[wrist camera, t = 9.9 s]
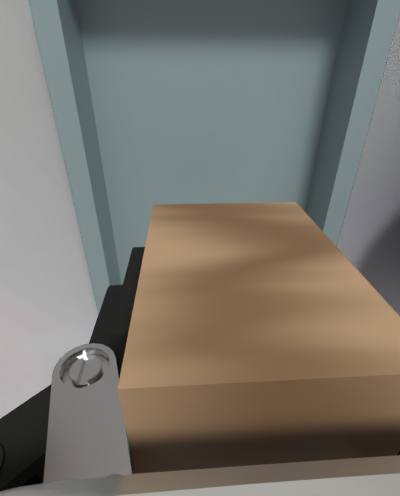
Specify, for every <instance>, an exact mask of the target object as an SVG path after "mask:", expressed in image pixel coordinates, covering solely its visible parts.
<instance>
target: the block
mask: <svg viewBox="0 0 400 496" xmlns="http://www.w3.org/2000/svg"><path fill="white" fill-rule="evenodd" d="M118 394H119V398H120V403H121V408H122V412H123V417H124V422H125V427H126V431H127V436H128V441H129V445H130V450H131V455H132V460H133V464H134V469H135V474H140V473H154V472H167V471H181V470H194V469H208V468H221V467H235V466H249V465H263V464H278V463H292V462H307V461H321V460H336V459H351V458H366V457H380V456H396V455H397V454H398V452H399V451H400V316H399V315H398V314H397V313H396V312H395V310H394V309H393V308H392V307H391V306H390V305H389V304H388V303H387V302H386V301H385V299H384V298H383V297H382V296H381V295H380V294H379V293H378V292H377V291H376V290H375V288H374V287H373V286H372V285H371V284H370V283H369V282H368V281H367V280H366V279H365V277H364V276H363V275H362V274H361V273H360V272H359V271H358V270H357V269H356V268H355V266H354V265H353V264H352V263H351V262H350V261H349V260H348V259H347V258H346V257H345V255H344V254H343V253H342V252H341V251H340V250H339V249H338V248H337V247H336V246H335V244H334V243H333V242H332V241H331V240H330V239H329V238H328V237H327V236H326V235H325V233H324V232H323V231H322V230H321V229H320V228H319V227H318V226H317V225H316V224H315V222H314V221H313V220H312V219H311V218H310V217H309V216H308V215H307V214H306V213H305V211H304V210H303V209H302V208H301V207H300V206H299V205H298V204H297V203H296V202H265V203H212V204H160V205H153V209H152V214H151V219H150V224H149V229H148V234H147V240H146V245H145V250H144V255H143V260H142V265H141V270H140V276H139V281H138V286H137V291H136V296H135V301H134V307H133V312H132V317H131V322H130V327H129V332H128V338H127V343H126V348H125V353H124V358H123V363H122V368H121V374H120V379H119V384H118Z"/></svg>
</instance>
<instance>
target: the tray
mask: <svg viewBox="0 0 400 496" xmlns="http://www.w3.org/2000/svg"><path fill="white" fill-rule="evenodd" d="M29 5H30V9H31V13H32V18H33V22H34V27H35V31H36V36H37V40H38V45H39V49H40V54H41V58H42V63H43V67H44V72H45V76H46V81H47V85H48V90H49V94H50V99H51V103H52V108H53V112H54V116H55V121H56V125H57V130H58V134H59V139H60V143H61V148H62V152H63V157H64V161H65V166H66V170H67V175H68V179H69V184H70V188H71V193H72V197H73V202H74V206H75V210H76V215H77V219H78V224H79V228H80V233H81V237H82V242H83V246H84V251H85V255H86V260H87V264H88V269H89V273H90V278H91V282H92V287H93V291H94V296H95V300H96V305H97V309H98V313H99V312H100V309H101V306H102V303H103V300H104V297H105V294H106V291H107V288H108V286H110V285H123V282H124V278H125V274H126V270H127V267H128V263H129V259H130V255H131V251H132V248H133V247H145V245H146V240H147V234H148V229H149V224H150V219H151V214H152V209H153V205H160V204H212V203H265V202H296V203H297V204H298V205H299V206H300V207H301V208H302V209H303V210H304V211H305V213H306V214H307V215H308V216H309V217H310V218H311V219H312V220H313V221H314V222H315V224H316V225H317V226H318V227H319V228H320V229H321V230H322V231H323V232H324V233H325V235H326V236H327V237H328V238H329V239H330V240H331V241H332V242H333V243H334V244H335V246H337V243H338V239H339V235H340V232H341V228H342V224H343V221H344V217H345V213H346V210H347V206H348V202H349V199H350V195H351V191H352V188H353V184H354V180H355V177H356V173H357V169H358V166H359V162H360V158H361V155H362V151H363V147H364V143H365V140H366V136H367V132H368V129H369V125H370V121H371V118H372V114H373V110H374V107H375V103H376V99H377V96H378V92H379V88H380V85H381V81H382V77H383V74H384V70H385V66H386V63H387V59H388V55H389V52H390V48H391V44H392V41H393V37H394V33H395V29H396V26H397V22H398V18H399V15H400V0H29Z"/></svg>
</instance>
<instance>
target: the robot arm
mask: <svg viewBox="0 0 400 496" xmlns="http://www.w3.org/2000/svg"><path fill="white" fill-rule="evenodd" d="M144 250H145V247H133V248H132V251H131V255H130V259H129V263H128V267H127V270H126V274H125V278H124V282H123V285H110V286H108V288H107V291H106V294H105V297H104V300H103V303H102V306H101V309H100V312H99V315H98V318H97V321H96V324H95V327H94V330H93V333H92V336H91V339H90V342H89V344H84V345H81V346H78V347H76V348H74V349H72V350H70V351H69V352H67V353H66V354H65V355H64V356H63V357H62V358H61V359H59V361H58V362H57V364H56V366H55V367H54V371H53V374H52V384H51V385H49V386H48V387H47V388H45V389H44V390H42V391H41V392H39V393H38V394H36V395H35V396H33V397H32V398H30V399H29V400H27V401H26V402H24V403H23V404H21V405H20V406H19V407H17V408H16V409H14V410H13V411H11V412H10V413H8V414H7V415H5V416H4V417H2V418H1V419H0V496H400V451H399V452H398V454H397V455H396V456H380V457H366V458H351V459H336V460H321V461H307V462H292V463H278V464H263V465H249V466H235V467H221V468H208V469H194V470H181V471H167V472H154V473H140V474H135V469H134V464H133V460H132V455H131V450H130V445H129V441H128V436H127V431H126V427H125V422H124V417H123V412H122V408H121V403H120V398H119V394H118V384H119V379H120V374H121V368H122V363H123V358H124V353H125V348H126V343H127V338H128V332H129V327H130V322H131V317H132V312H133V307H134V301H135V296H136V291H137V286H138V281H139V276H140V270H141V265H142V260H143V255H144Z"/></svg>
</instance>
